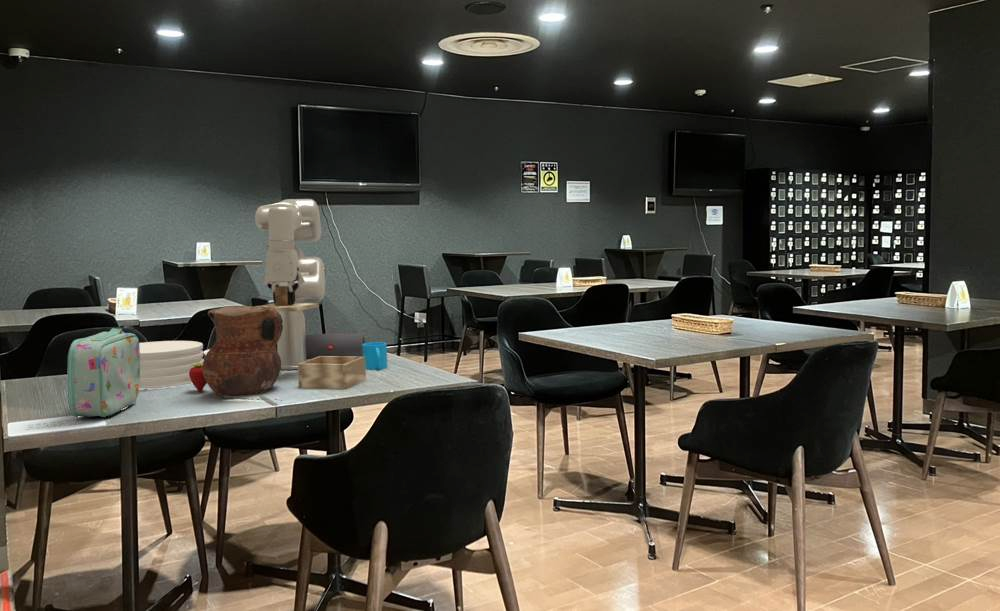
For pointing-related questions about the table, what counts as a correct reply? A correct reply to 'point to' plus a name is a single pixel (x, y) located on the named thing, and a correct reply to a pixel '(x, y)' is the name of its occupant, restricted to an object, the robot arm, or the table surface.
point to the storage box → (331, 372)
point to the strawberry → (197, 376)
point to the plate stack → (168, 362)
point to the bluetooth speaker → (334, 345)
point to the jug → (243, 351)
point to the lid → (282, 301)
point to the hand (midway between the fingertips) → (284, 303)
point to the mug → (375, 355)
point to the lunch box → (103, 373)
